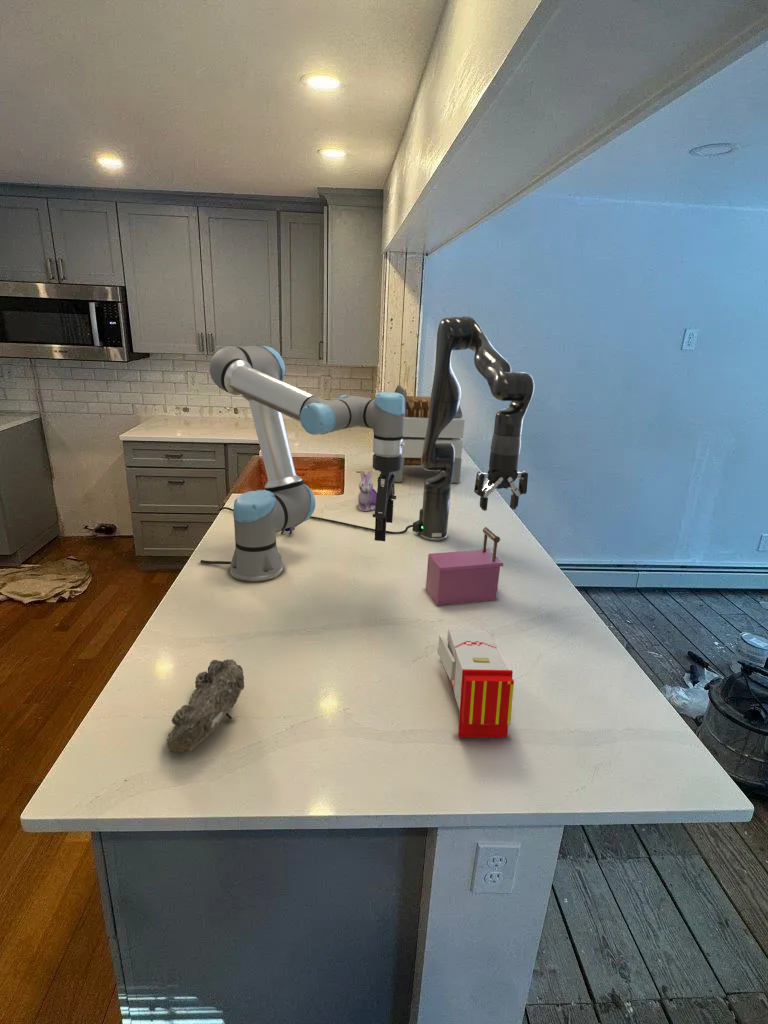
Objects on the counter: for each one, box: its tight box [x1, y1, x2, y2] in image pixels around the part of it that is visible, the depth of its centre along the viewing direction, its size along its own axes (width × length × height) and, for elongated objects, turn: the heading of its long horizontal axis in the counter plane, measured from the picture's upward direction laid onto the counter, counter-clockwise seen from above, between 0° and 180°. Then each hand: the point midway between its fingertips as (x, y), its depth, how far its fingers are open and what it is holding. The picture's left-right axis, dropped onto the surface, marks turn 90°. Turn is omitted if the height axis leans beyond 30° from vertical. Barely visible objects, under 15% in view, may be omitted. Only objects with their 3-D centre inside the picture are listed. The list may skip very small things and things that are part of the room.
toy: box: [437, 628, 515, 738], centre depth 117 cm, size 12×13×30 cm
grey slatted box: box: [394, 384, 465, 484], centre depth 268 cm, size 34×33×41 cm
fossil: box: [166, 658, 245, 754], centre depth 106 cm, size 22×10×15 cm
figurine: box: [357, 470, 377, 512], centre depth 221 cm, size 9×10×15 cm
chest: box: [425, 556, 501, 607], centre depth 157 cm, size 18×9×10 cm, turn 105°
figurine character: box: [280, 525, 298, 536], centre depth 198 cm, size 7×8×15 cm
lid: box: [427, 526, 504, 572], centre depth 154 cm, size 18×9×8 cm, turn 105°
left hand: (383, 530), depth 153 cm, fingers open, 13 cm apart
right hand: (498, 509), depth 153 cm, fingers open, 8 cm apart
